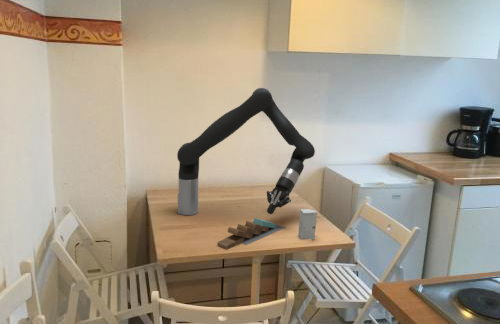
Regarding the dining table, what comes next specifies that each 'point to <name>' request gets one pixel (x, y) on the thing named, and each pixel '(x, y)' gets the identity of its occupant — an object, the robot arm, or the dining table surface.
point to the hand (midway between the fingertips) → (269, 213)
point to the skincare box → (307, 224)
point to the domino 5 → (264, 223)
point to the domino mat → (262, 234)
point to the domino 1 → (231, 241)
